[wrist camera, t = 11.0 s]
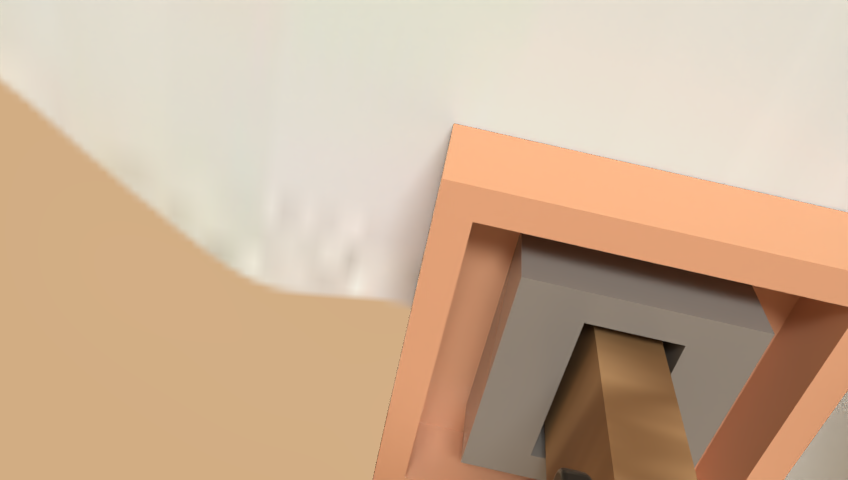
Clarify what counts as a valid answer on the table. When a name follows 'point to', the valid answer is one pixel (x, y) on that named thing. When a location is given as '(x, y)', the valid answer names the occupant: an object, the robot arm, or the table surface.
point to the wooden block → (617, 412)
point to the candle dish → (613, 310)
